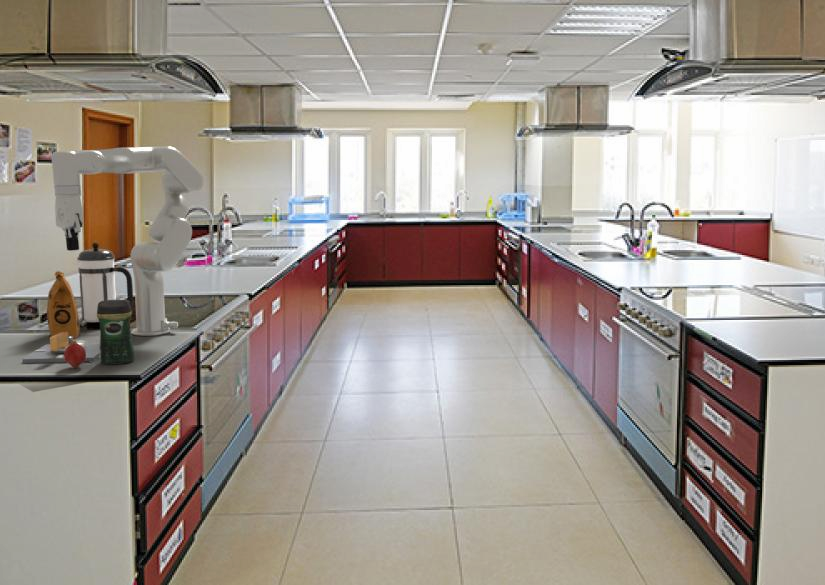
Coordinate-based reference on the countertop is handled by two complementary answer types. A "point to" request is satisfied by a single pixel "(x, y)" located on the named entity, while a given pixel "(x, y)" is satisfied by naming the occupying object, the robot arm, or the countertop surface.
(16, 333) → the countertop surface
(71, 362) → the pomegranate
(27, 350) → the countertop surface
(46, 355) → the board
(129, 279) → the coffee press
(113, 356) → the coffee jar
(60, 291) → the coffee package
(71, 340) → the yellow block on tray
